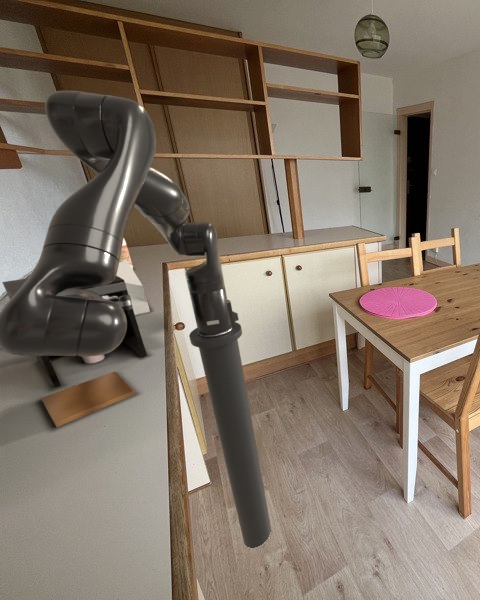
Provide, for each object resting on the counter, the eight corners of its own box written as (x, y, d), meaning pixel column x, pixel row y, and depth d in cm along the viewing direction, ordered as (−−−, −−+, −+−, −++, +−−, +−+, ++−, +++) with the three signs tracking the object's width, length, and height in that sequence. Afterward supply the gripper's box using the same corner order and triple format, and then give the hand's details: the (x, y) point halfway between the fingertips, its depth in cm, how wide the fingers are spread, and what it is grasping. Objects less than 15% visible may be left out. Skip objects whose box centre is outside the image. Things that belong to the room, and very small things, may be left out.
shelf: (124, 336, 91) (101, 266, 83) (147, 356, 82) (124, 279, 74) (38, 362, 78) (2, 282, 70) (55, 388, 69) (15, 299, 61)
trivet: (116, 374, 74) (114, 371, 74) (135, 394, 68) (133, 390, 67) (42, 401, 65) (40, 397, 64) (56, 427, 58) (54, 423, 58)
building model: (60, 291, 122) (51, 267, 119) (132, 280, 137) (126, 259, 133) (57, 330, 92) (45, 301, 89) (150, 311, 107) (142, 285, 104)
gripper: (129, 283, 53) (125, 281, 65) (-3, 298, 44) (20, 293, 56) (140, 325, 55) (133, 316, 66) (14, 349, 45) (33, 333, 57)
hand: (82, 305), depth 61 cm, fingers open, 8 cm apart
